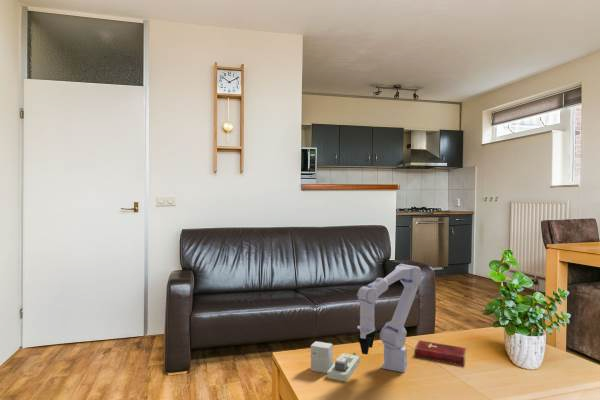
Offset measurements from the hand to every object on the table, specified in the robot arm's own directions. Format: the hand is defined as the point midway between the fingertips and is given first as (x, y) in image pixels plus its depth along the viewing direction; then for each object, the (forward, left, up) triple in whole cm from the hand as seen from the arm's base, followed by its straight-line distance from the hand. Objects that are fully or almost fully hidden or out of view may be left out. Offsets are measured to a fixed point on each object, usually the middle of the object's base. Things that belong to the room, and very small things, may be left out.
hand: (367, 350), depth 155 cm
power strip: (+10, -4, -10) cm, 15 cm away
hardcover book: (-26, -32, -11) cm, 43 cm away
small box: (+19, +3, -10) cm, 21 cm away
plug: (+10, +4, -10) cm, 14 cm away
